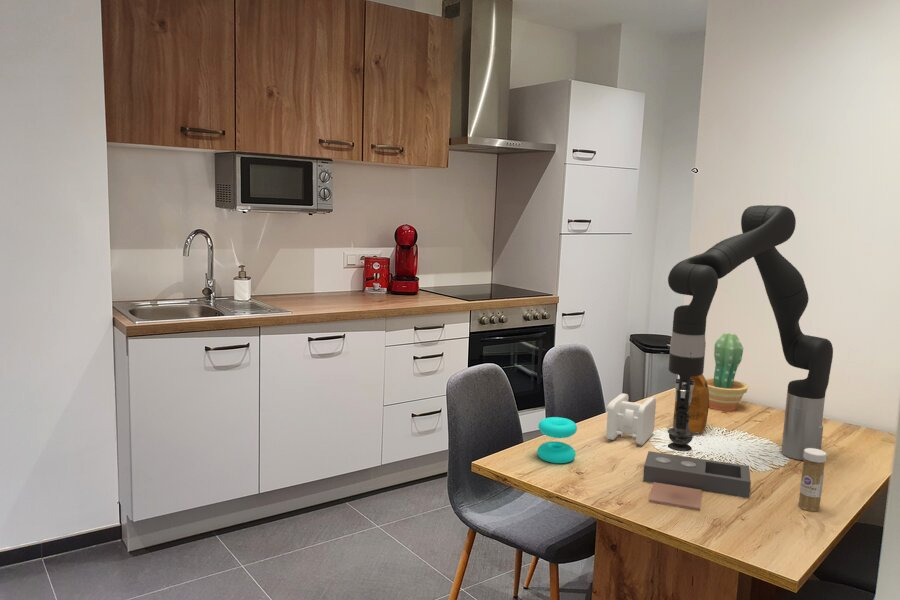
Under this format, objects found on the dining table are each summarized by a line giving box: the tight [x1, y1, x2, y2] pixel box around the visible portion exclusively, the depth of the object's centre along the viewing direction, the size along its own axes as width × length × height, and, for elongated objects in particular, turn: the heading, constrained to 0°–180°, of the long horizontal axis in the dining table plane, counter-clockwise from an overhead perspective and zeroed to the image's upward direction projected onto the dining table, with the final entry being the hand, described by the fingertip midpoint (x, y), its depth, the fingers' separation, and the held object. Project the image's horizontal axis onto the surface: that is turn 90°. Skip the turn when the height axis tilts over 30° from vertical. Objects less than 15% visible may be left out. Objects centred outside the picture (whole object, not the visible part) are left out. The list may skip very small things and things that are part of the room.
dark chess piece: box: [667, 404, 695, 452], centre depth 163 cm, size 6×6×12 cm
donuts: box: [536, 416, 578, 464], centre depth 188 cm, size 10×10×10 cm
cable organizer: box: [605, 392, 657, 446], centre depth 205 cm, size 15×11×12 cm
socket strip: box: [642, 450, 752, 499], centre depth 175 cm, size 24×11×4 cm, turn 69°
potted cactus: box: [705, 332, 750, 412], centre depth 239 cm, size 15×15×25 cm
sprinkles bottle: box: [797, 448, 827, 512], centre depth 161 cm, size 5×5×14 cm
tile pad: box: [648, 482, 702, 512], centre depth 165 cm, size 11×11×1 cm
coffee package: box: [672, 373, 710, 434], centre depth 215 cm, size 10×12×22 cm
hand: (681, 425), depth 163 cm, fingers closed on dark chess piece, 3 cm apart
